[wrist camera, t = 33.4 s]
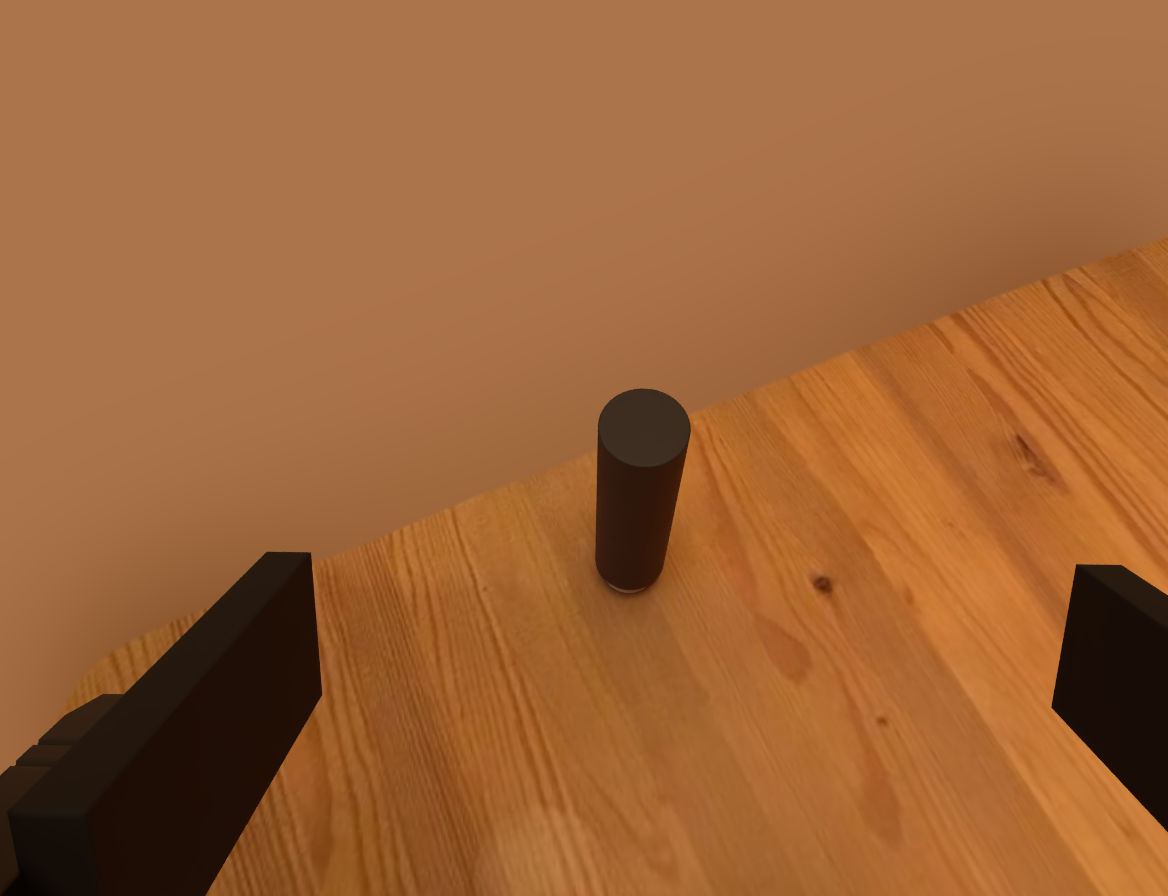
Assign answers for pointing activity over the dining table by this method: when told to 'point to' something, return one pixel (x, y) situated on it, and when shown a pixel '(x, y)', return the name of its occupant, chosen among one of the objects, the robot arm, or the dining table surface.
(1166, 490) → the dining table surface
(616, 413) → the dark brown cylinder
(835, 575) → the dining table surface
